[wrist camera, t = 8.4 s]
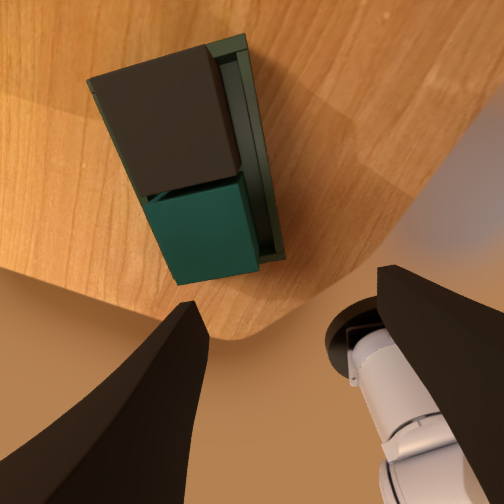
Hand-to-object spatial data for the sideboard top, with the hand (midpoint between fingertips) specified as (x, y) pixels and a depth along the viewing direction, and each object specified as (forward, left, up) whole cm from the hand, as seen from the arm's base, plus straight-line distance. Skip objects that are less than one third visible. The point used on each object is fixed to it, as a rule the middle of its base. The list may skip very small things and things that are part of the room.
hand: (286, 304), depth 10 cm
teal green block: (+2, +4, -8) cm, 9 cm away
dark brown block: (+7, +4, -9) cm, 12 cm away
